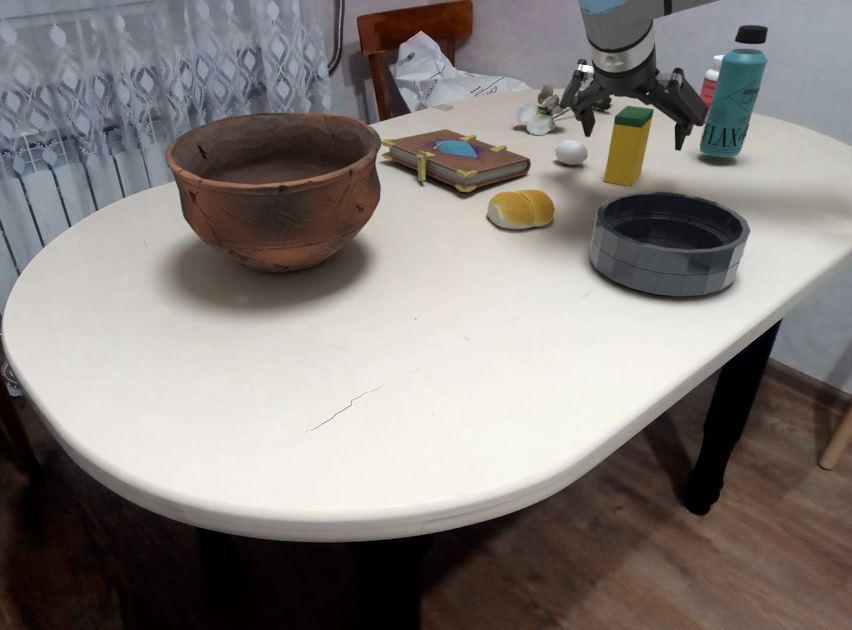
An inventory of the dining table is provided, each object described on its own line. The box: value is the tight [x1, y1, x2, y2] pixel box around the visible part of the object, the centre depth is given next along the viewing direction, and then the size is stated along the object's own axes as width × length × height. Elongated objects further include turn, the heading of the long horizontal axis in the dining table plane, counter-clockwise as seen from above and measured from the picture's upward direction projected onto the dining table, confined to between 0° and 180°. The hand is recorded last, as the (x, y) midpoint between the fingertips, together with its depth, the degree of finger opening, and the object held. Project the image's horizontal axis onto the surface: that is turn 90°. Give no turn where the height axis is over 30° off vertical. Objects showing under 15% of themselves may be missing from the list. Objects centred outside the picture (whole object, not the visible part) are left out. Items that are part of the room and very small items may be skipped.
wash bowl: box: [589, 191, 751, 297], centre depth 78 cm, size 17×17×6 cm
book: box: [381, 128, 532, 193], centre depth 108 cm, size 16×25×5 cm, turn 37°
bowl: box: [164, 112, 382, 274], centre depth 80 cm, size 25×25×15 cm
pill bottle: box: [699, 54, 726, 124], centre depth 122 cm, size 6×6×11 cm
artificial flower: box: [513, 79, 613, 137], centre depth 125 cm, size 9×22×10 cm, turn 122°
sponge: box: [603, 105, 655, 187], centre depth 100 cm, size 4×6×10 cm, turn 147°
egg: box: [554, 139, 589, 166], centre depth 107 cm, size 4×6×4 cm, turn 48°
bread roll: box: [486, 189, 556, 230], centre depth 90 cm, size 8×9×4 cm
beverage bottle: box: [699, 24, 769, 158], centre depth 102 cm, size 6×7×20 cm
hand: (634, 135), depth 100 cm, fingers open, 13 cm apart
